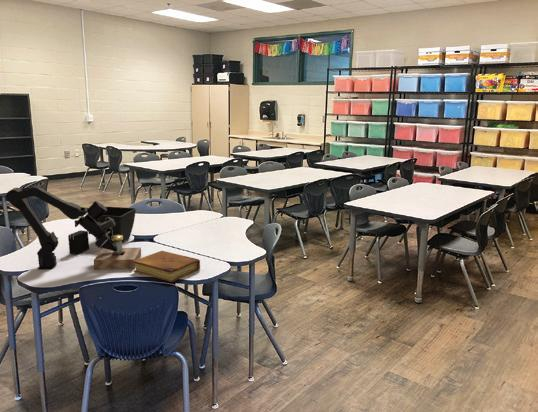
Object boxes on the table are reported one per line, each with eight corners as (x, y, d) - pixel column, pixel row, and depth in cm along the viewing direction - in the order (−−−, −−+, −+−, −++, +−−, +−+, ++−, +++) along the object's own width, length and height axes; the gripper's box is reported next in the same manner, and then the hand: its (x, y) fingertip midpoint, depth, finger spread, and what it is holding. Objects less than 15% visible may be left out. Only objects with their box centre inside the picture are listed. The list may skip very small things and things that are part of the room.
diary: (200, 270, 212) (200, 258, 210) (171, 283, 196) (171, 270, 195) (163, 261, 223) (163, 249, 222) (133, 272, 208) (133, 260, 207)
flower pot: (122, 246, 243) (120, 215, 239) (89, 244, 246) (86, 213, 242) (137, 236, 261) (136, 208, 258) (106, 235, 264) (104, 206, 261)
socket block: (94, 269, 209) (93, 260, 208) (103, 256, 227) (103, 248, 226) (134, 268, 211) (134, 259, 210) (141, 256, 228) (140, 247, 228)
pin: (115, 265, 215) (113, 238, 212) (111, 262, 219) (109, 236, 216) (126, 262, 218) (124, 236, 216) (121, 260, 222) (120, 234, 220)
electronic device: (89, 249, 238) (88, 230, 236) (76, 255, 229) (75, 235, 226) (82, 248, 239) (81, 229, 237) (69, 254, 230) (67, 235, 227)
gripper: (101, 218, 204) (128, 241, 208) (106, 209, 221) (131, 230, 226) (83, 236, 203) (111, 258, 208) (89, 225, 221) (114, 246, 226)
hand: (117, 247), depth 217 cm, fingers open, 9 cm apart
